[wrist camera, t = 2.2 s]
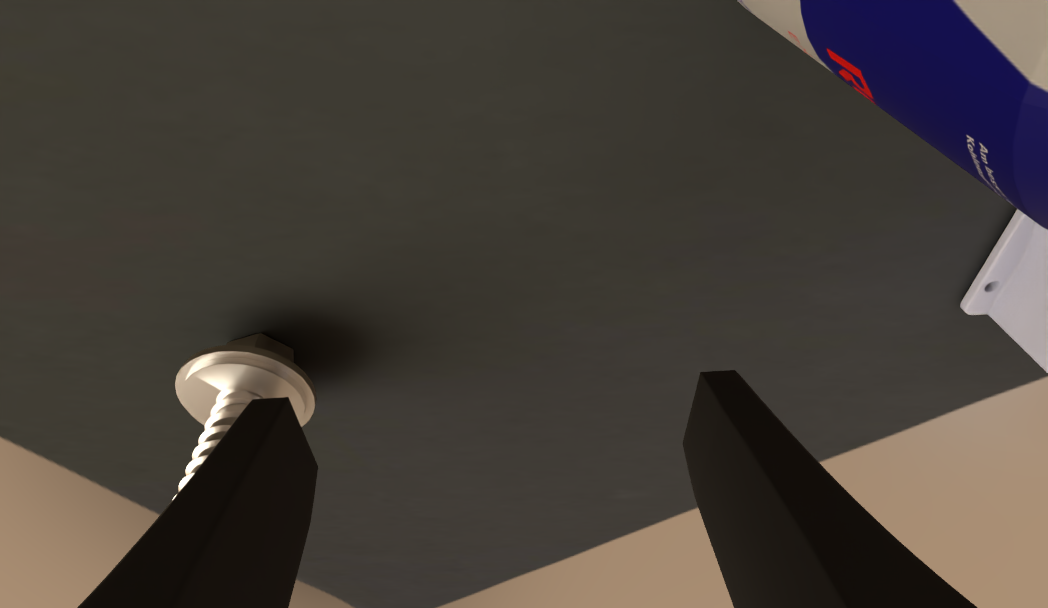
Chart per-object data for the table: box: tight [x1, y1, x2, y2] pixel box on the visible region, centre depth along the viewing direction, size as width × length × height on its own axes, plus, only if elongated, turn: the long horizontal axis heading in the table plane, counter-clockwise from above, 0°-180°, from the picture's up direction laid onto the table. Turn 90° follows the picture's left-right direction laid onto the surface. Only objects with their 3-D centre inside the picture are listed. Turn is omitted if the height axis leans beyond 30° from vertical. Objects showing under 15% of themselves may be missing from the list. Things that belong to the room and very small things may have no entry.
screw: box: [173, 333, 317, 499], centre depth 18 cm, size 13×5×5 cm
